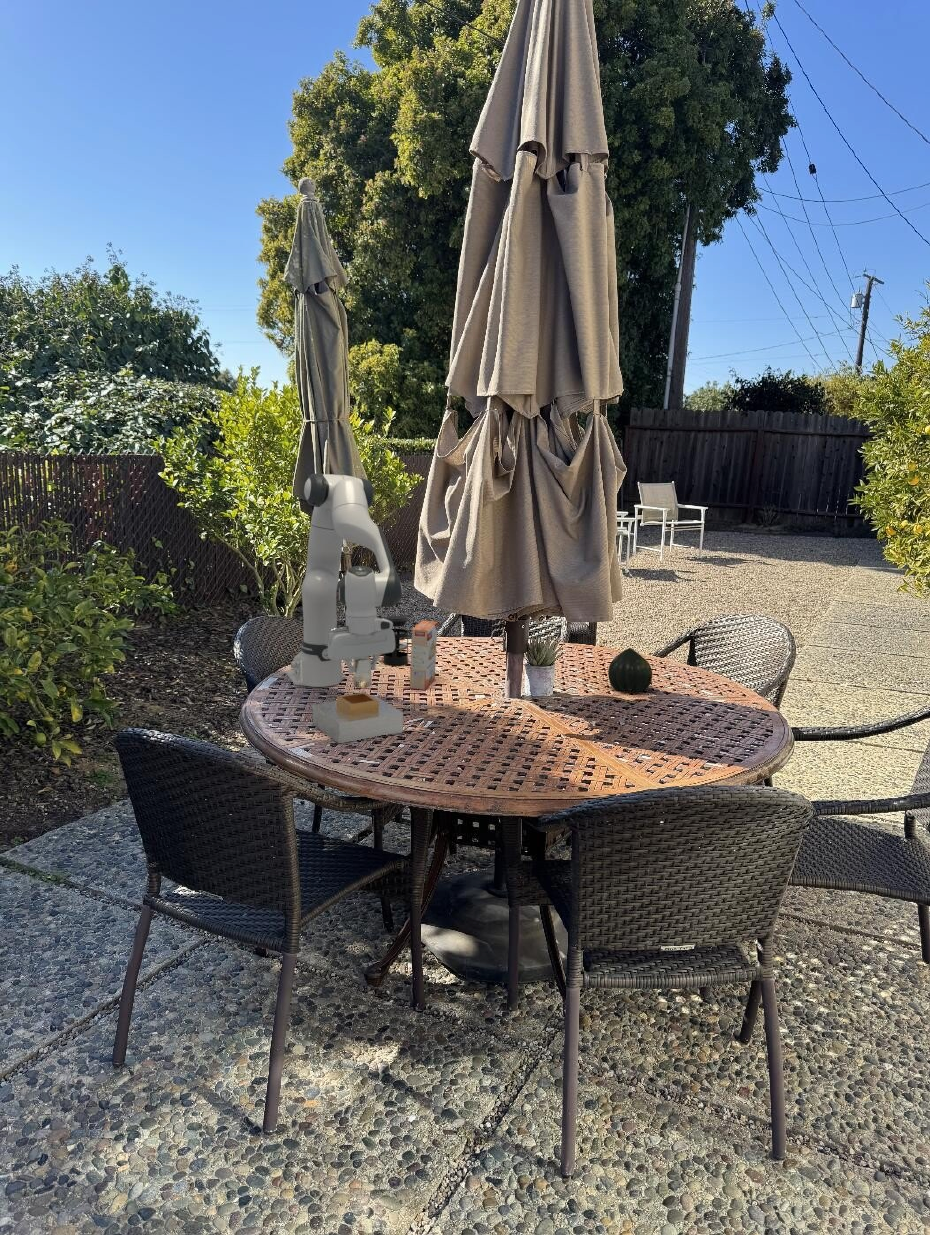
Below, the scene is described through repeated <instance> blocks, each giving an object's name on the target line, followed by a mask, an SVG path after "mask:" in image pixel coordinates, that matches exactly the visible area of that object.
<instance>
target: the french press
mask: <svg viewBox="0 0 930 1235" xmlns="http://www.w3.org/2000/svg"><path fill="white" fill-rule="evenodd" d="M399 605H403V602H402V601H399V602H398V603H397V604H396V605H395V608H396V610H395V612H396V613H395V615H388V616H384V619H387V620H389V621H391V622H392V623H393V627H394V628H392V630H393V632H394V635H395V649H394V651H393V652H391V653H384V654H379V656H383V658H382V663H383V664H384V665H385V666H389V667H403V666H407V665H409V660H408V659H409V630H407V629H404V628H400V627H405V625H406V623H407V621H409V617H407V616H403V615H398V608H399ZM398 627H399V628H398ZM402 638H407V639H406V640H407V641H406V643H405V644H404V643H400V641H401V640H400V639H402ZM403 650H404V651H403ZM405 650H406V651H405Z"/></svg>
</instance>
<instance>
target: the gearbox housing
mask: <svg viewBox="0 0 930 1235" xmlns="http://www.w3.org/2000/svg"><path fill="white" fill-rule="evenodd" d="M312 726H315V727H316V728H317V729H318V730H320V731H321V732H323V733H324V734H325V735H326V734H327V735H326V736H328V737H329V738H330V739H332V740H333V741H335V743H337V742H338V743H342V744H345V743H344V742H348V743H350V742H349V741H353V742H357V740H359V741H362V740H361V739H364V740H367V739H366V738H370V739H372V738H371V737H375V736H376V737H375V738H378V737H377V736H381V735H386V736H389V735H388V734H392V735H396V734H403V733H402V732H404V731H403V730H404V727H403V726H404V712H403V711H401V710H399V708H396V707H395V706H393V705H391V704H390V703H388V702H387V701H385V700H383V699H381V698H380V697H378V696H376V695H370V694H368V692H365V691H364V692H358V693H351V694H344V695H337V696H336V700H334V701H327V702H321V703H314V704H312ZM381 737H382V736H381ZM338 743H337V744H338Z"/></svg>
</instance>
